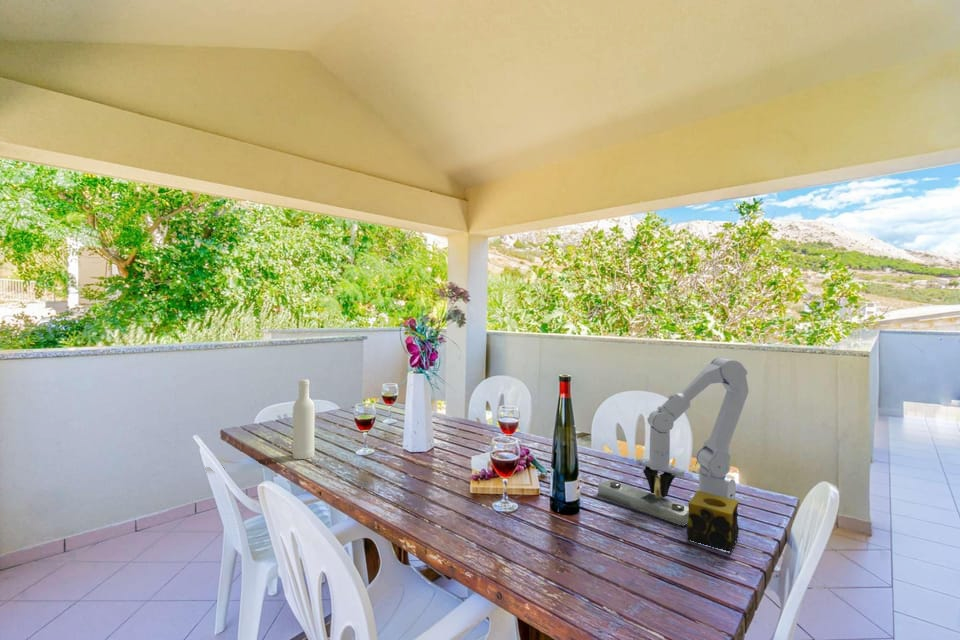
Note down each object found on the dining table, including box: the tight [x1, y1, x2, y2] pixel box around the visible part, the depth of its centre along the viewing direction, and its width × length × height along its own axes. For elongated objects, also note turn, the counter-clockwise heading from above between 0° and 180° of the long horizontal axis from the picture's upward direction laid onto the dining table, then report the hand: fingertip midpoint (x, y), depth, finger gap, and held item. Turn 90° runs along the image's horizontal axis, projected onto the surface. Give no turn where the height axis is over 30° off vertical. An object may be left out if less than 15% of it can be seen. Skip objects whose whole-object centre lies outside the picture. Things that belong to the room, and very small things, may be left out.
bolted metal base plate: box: [597, 479, 689, 527], centre depth 130 cm, size 27×7×4 cm, turn 39°
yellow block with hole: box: [686, 490, 740, 552], centre depth 110 cm, size 10×10×10 cm
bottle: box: [292, 379, 316, 460], centre depth 170 cm, size 8×8×30 cm
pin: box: [653, 474, 665, 498], centre depth 134 cm, size 3×3×7 cm
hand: (658, 494), depth 134 cm, fingers closed on pin, 3 cm apart
